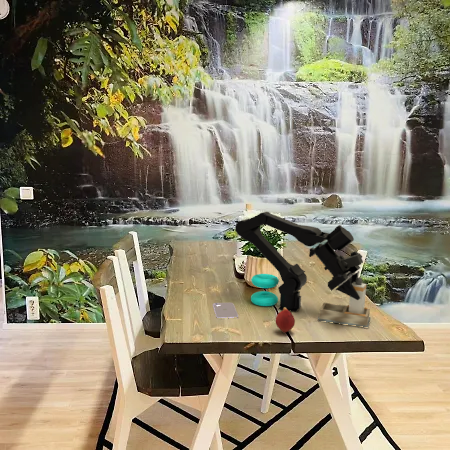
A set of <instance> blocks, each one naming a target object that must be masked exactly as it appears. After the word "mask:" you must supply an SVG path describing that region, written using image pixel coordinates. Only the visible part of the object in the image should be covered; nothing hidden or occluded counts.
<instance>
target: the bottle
mask: <svg viewBox="0 0 450 450" xmlns="http://www.w3.org/2000/svg"><path fill="white" fill-rule="evenodd" d="M352 285H353V287H354V289H355V290H356V292H357V293H358V295H359V297H360V299H359V300H356V299H354V298H352V297H350V296H349V302H348V305H349V312H350V313H357V314H364V307H365V306H366V292H367V283H364V282H363V277H358V278H356V282H353V283H352Z"/></svg>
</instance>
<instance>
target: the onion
mask: <svg viewBox="0 0 450 450" xmlns="http://www.w3.org/2000/svg"><path fill="white" fill-rule="evenodd" d="M295 323H296V319H295V317H294V315H293V314H292V311H288V310H287V309H286V308H283V310H280V312H279V313H277V315H276V317H275V325H276V326H277V328H278V329H279V330H280V331H281V332H282V333H284V334H285V333H287V332H290V331H291V330H292V329H293V328H294V327H295Z"/></svg>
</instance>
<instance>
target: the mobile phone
mask: <svg viewBox="0 0 450 450" xmlns="http://www.w3.org/2000/svg"><path fill="white" fill-rule="evenodd" d="M212 308H213V311H214V314H216V315H215V318H216V317H217V318H227V317H228V319H229V318H234V317H238V316H239V314H238V311H237V309H236V307H235V304H234V303H233V302H214V303H212ZM217 318H216V319H217Z"/></svg>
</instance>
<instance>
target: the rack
mask: <svg viewBox="0 0 450 450" xmlns="http://www.w3.org/2000/svg"><path fill="white" fill-rule="evenodd" d="M370 311H371V310H370V308H368V307H365V306H364V314H357V313H350V312H349V304H348V305H343V304H337V303H330V302H323V303H322V305H321V307H320V308H319V316H318V317H317V321H318V320H319V321H318V322H321V321H326V322H325V323H327V322H333V323H340V324H348V325H356V326H363V327H368V326H369V327H370V323H369V322H371V316H370ZM333 323H332V324H333ZM340 324H339V325H340ZM369 327H368V328H369Z"/></svg>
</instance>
